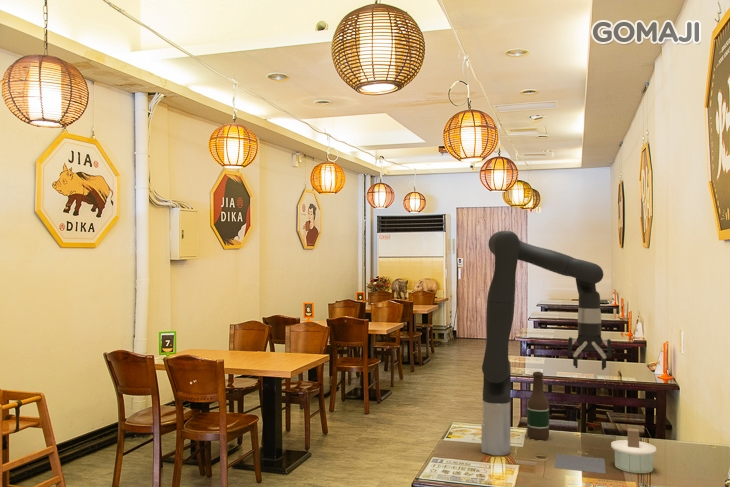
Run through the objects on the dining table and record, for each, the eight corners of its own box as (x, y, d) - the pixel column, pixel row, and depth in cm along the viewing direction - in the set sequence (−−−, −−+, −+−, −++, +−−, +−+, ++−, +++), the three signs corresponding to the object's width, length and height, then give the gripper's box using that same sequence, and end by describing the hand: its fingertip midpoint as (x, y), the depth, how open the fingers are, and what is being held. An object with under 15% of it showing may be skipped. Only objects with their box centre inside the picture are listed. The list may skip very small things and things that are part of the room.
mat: (554, 469, 197) (554, 467, 197) (556, 454, 211) (556, 453, 211) (605, 474, 191) (605, 473, 191) (604, 459, 206) (604, 458, 206)
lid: (611, 452, 194) (611, 433, 194) (610, 441, 206) (610, 422, 206) (658, 457, 189) (657, 437, 189) (654, 445, 201) (654, 426, 202)
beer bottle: (550, 441, 226) (549, 374, 227) (527, 440, 228) (527, 373, 228) (548, 435, 234) (548, 370, 234) (526, 434, 235) (526, 370, 236)
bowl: (615, 471, 194) (615, 452, 194) (614, 461, 205) (614, 442, 205) (654, 476, 190) (654, 456, 191) (651, 464, 201) (651, 446, 201)
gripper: (567, 321, 215) (567, 369, 215) (612, 323, 210) (612, 371, 210) (568, 319, 222) (568, 365, 222) (611, 321, 217) (611, 368, 217)
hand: (589, 368), depth 216 cm, fingers open, 8 cm apart
